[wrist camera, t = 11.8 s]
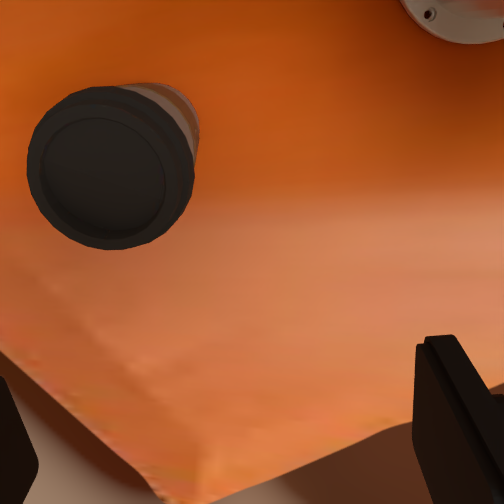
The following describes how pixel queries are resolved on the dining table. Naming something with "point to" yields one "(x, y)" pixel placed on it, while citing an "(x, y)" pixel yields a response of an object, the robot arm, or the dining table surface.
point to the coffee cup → (115, 163)
